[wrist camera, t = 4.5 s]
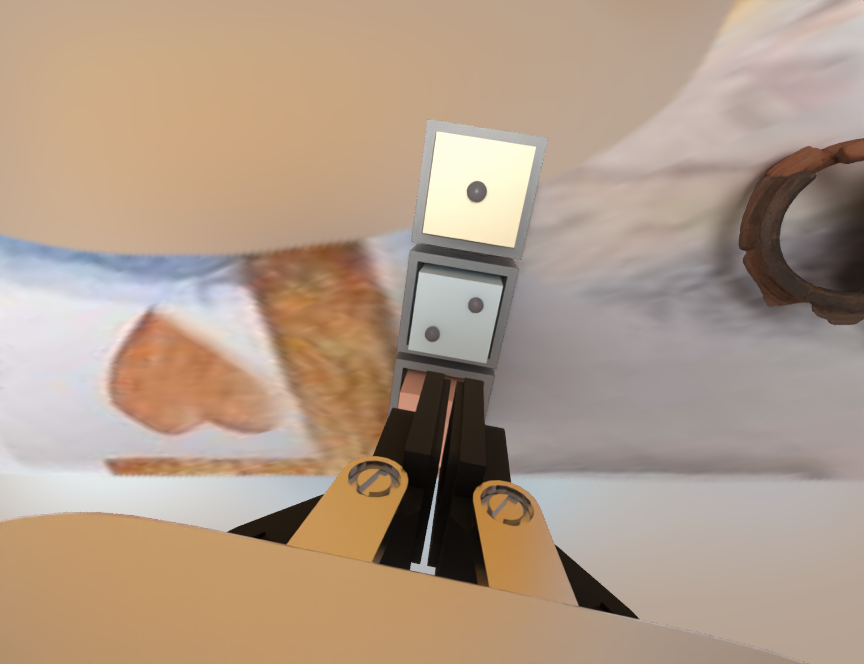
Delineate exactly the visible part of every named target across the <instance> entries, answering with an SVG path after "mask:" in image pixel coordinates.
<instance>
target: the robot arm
mask: <svg viewBox="0 0 864 664" xmlns="http://www.w3.org/2000/svg"><path fill="white" fill-rule="evenodd" d="M444 376H445V374H444V373H439V372H433V371H428V370H427V373H426V376H425V380H424V383H423V387H422V390H421V394H420V397H419V401H418V404H417V408H416V411H415V412H414V411H409V410H404V409H399V408H392V410H391V412H390V415H389V417H388V420H387V422H386V425H385V427H384V430H383V432H382V435H381V437H380V440H379V442H378V445H377V447H376V450H375V452H374V455H373V456H367V457H362V458H358V459H356V460H354V461H352V462H350V463H349V464H348V465H347V466H346V467H345V468H344V469H343V470H342V471H341V473H340V474H339V475H338V477H337V478H336V479H335V481H334V482H333V483H332V485H331V486H330V488H329V489H328V490H327V491H326V493H325V494H323V495H320V496H317V497H315V498H312V499H310V500H307V501H304V502H302V503H299V504H296V505H294V506H291V507H288V508H286V509H283V510H281V511H278V512H275V513H273V514H270V515H267V516H265V517H262V518H260V519H257V520H254V521H252V522H249V523H246V524H244V525H241V526H238V527H236V528H234V529H232V530H230V531H228V532H222V531H217V530H212V529H208V528H203V527H198V526H193V525H187V524H181V523H175V522H169V521H163V520H157V519H151V518H145V517H140V516H134V515H123V514H113V513H100V512H70V513H69V512H63V513H54V514H43V515H33V516H23V517H17V518H11V519H6V520H0V664H808V663H805V662H803V661H800V660H797V659H794V658H791V657H788V656H785V655H782V654H779V653H775V652H772V651H769V650H766V649H762V648H758V647H754V646H750V645H746V644H742V643H738V642H734V641H730V640H727V639H723V638H718V637H715V636H711V635H707V634H702V633H699V632H694V631H690V630H685V629H681V628H676V627H671V626H667V625H662V624H658V623H653V622H648V621H643V620H640V619H639V618H638V617H637V616H636V615H635V614H634V613H633V612H632V611H631V610H630V609H629V608H628V607H627V606H625V605H624V604H623V603H622V602H621V601H620V600H618V599H617V598H616V597H615V596H614V595H613V594H612V593H610V592H609V591H608V590H607V589H606V588H605V587H604V586H602V585H601V584H600V583H599V582H598V581H597V580H595V579H594V578H593V577H592V576H591V575H590V574H589V573H587V572H586V571H585V570H584V569H583V568H581V567H580V566H579V565H578V564H577V563H576V562H575V561H573V560H572V559H571V558H570V557H569V556H568V555H567V554H565V553H564V552H563V551H562V550H561V549H560V548H559V547H557V546H556V545H555V544H554V542H553V539H552V537H551V534H550V532H549V529H548V527H547V524H546V521H545V519H544V516H543V514H542V511H541V509H540V507H539V505H538V503H537V501H536V500H535V498H534V497H533V496H531V495H530V494H529V492H527V491H525V490H524V489H523V488H521V487H519V486H517V485H515V484H512V483H511V478H510V470H509V462H508V454H507V445H506V437H505V430H504V429H503V428H498V427H493V426H488V425H485V418H484V390H483V381H482V380H477V379H471V378H466V377H465V379H464V382H461V381H457V383H456V388H455V393H454V398H453V403H452V408H451V414H450V419H449V424H448V429H447V434H446V440H445V445H444V450H443V455H442V461H441V467H440V474H439V481H438V490H437V496H436V504H435V511H434V519H433V526H432V534H431V542H430V549H429V557H428V564H427V566H431V567H436V569H435V575H430V574H425V573H420V572H415V571H411V570H410V566H411V562H412V563H417V564H420V562H421V557H422V552H423V547H424V542H425V536H426V530H427V526H428V520H429V515H430V510H431V505H432V500H433V495H434V489H435V484H436V479H437V474H438V468H439V463H440V457H441V450H442V443H443V436H444V429H445V422H446V414H447V407H448V400H449V393H450V385H451V380H450V379H445V378H444Z"/></svg>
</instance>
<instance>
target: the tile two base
mask: <svg viewBox="0 0 864 664" xmlns="http://www.w3.org/2000/svg"><path fill="white" fill-rule="evenodd" d="M423 262H426V263H432V264H437V265H443V266H449V267H455V268H461V269H467V270H473V271H479V272H485V273H491V274H497V275H502V277H501V282H502V285H503V289H502V293H501V298H500V303H499V307H498V312H497V317H496V321H495V326H494V330H493V335H492V340H491V344H490V349H489V354H488V358H487V363H481V362H475V361H470V360H464V359H458V358H453V357H447V356H442V355H436V354H430V353H425V352H419V351H413V350H408V347H409V340H410V333H411V326H412V319H413V312H414V305H415V298H416V291H417V284H418V277H419V272H420V270H421V269H422V264H423ZM518 270H519V268H518V267H517V265H516V264H515V262H514V261H513V260H507V259H501V258H495V257H489V256H483V255H477V254H471V253H465V252H459V251H453V250H447V249H441V248H435V247H429V246H423V245H416V246H415V247H414V248H412V249H411V250H410V255H409V262H408V270H407V278H406V285H405V293H404V300H403V308H402V315H401V323H400V331H399V338H398V346H397V351H400V352H405V353H411V354H417V355H422V356H428V357H434V358H439V359H445V360H450V361H456V362H462V363H467V364H473V365H478V366H484V367H490V368H495V369H496V368H497V363H498V359H499V354H500V350H501V346H502V341H503V337H504V332H505V328H506V323H507V319H508V315H509V310H510V306H511V301H512V297H513V292H514V288H515V284H516V279H517V275H518Z"/></svg>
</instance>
